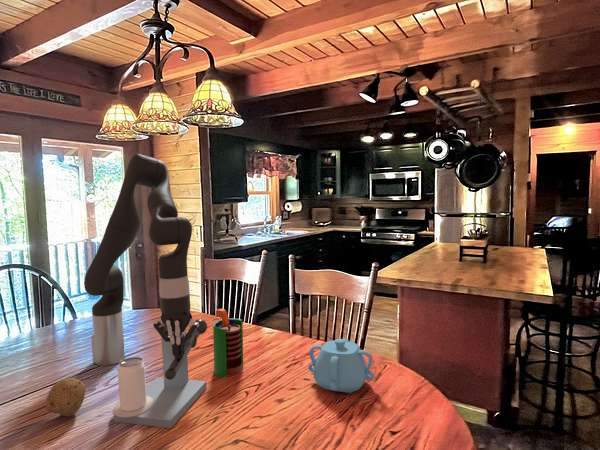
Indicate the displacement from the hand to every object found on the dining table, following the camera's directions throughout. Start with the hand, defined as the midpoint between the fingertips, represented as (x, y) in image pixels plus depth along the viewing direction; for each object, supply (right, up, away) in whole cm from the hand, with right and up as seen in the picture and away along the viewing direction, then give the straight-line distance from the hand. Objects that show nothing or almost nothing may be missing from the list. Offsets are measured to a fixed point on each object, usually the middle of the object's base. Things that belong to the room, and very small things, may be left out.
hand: (178, 356), depth 103 cm
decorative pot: (+45, -13, +13) cm, 48 cm away
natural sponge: (-29, -15, -1) cm, 33 cm away
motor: (+9, -13, +23) cm, 28 cm away
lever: (+1, -1, +5) cm, 5 cm away
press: (-6, -14, +4) cm, 16 cm away
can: (-12, -13, -1) cm, 17 cm away
